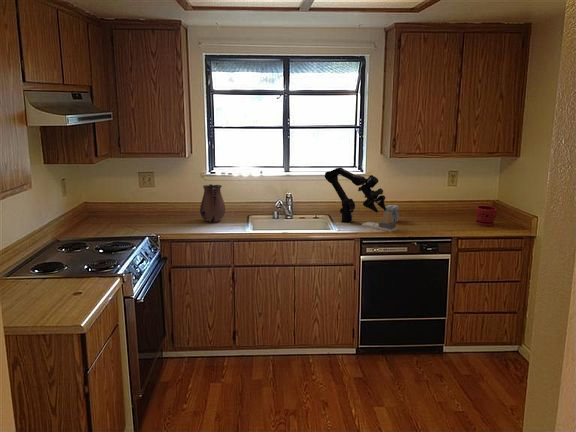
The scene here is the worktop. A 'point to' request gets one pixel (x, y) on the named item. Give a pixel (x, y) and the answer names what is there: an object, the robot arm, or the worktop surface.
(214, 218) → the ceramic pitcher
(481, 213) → the plant pot
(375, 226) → the marked board
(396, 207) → the light bulb box
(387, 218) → the sanding block
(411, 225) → the worktop surface
